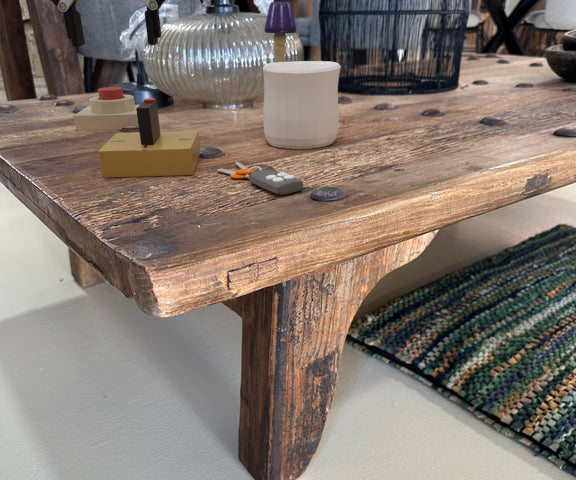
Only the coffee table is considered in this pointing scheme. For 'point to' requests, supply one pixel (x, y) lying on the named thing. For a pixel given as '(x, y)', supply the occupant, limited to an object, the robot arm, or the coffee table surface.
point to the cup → (301, 104)
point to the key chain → (267, 179)
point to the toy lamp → (280, 26)
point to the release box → (107, 114)
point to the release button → (110, 93)
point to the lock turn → (148, 121)
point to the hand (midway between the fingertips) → (116, 44)
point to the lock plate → (150, 155)
